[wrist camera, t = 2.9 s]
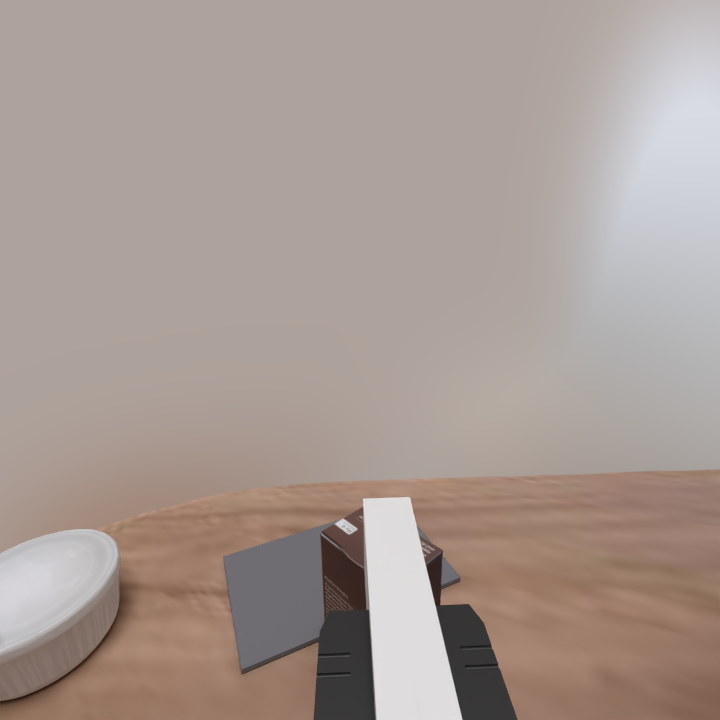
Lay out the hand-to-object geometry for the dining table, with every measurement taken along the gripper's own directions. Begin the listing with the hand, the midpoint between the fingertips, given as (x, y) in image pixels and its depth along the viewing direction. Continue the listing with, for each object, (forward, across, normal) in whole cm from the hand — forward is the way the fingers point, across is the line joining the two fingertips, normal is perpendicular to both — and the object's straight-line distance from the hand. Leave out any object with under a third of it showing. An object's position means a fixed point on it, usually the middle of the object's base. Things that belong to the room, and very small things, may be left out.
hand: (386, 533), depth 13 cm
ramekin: (+13, -24, -20) cm, 34 cm away
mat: (+18, -3, -19) cm, 26 cm away
